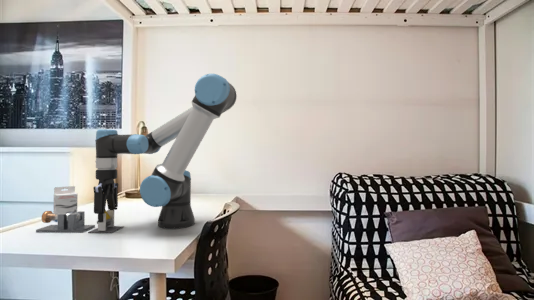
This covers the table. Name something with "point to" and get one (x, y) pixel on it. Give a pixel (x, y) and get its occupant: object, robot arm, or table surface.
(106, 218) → the yellow cone
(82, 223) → the grey vise
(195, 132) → the robot arm
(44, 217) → the shaft
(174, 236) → the table surface
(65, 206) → the ink box
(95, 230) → the seat pad
